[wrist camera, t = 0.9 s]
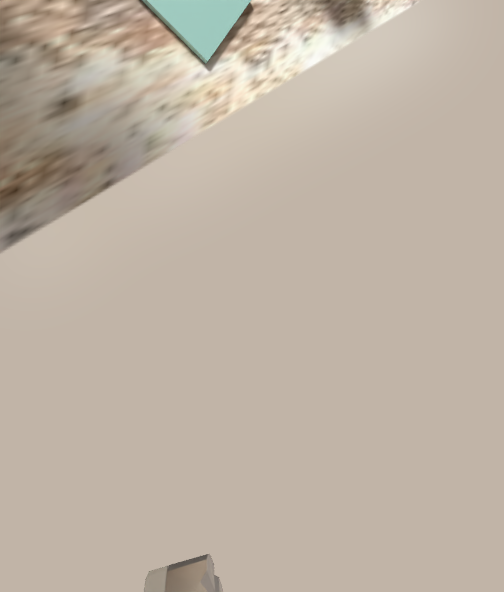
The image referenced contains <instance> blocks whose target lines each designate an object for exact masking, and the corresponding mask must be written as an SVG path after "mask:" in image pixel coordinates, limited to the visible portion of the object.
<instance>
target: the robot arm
mask: <svg viewBox="0 0 504 592" xmlns="http://www.w3.org/2000/svg"><path fill="white" fill-rule="evenodd" d="M144 592H223V589H222V585H221V582H220V579H219V577H217V576H215V575H214V563H213V561H212V558H211V556H210V555H209V554H207V555H203V556H200V557H196V558H193V559H189V560H186V561H183V562H179V563H176V564H172V565H169V566H166V567H162V568H159V569H156V570H152V571H149V573H148V575H147V578H146V581H145V588H144Z"/></svg>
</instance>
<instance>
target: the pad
mask: <svg viewBox="0 0 504 592" xmlns="http://www.w3.org/2000/svg"><path fill="white" fill-rule="evenodd" d="M142 1H143V2H144V3H145V4H146V5H147V6H148V7H149V8H150V9H151V10H152V11H153V12H154V13H155V14H156V15H157V16H158V17H159V18H160V19H161V20H162V21H163V22H164V23H165V24H166V25H167V26H168V27H169V28H170V29H171V30H172V31H173V32H174V33H175V34H176V35H177V36H178V37H179V38H180V39H181V40H182V41H183V42H184V43H185V44H186V45H187V46H188V47H189V48H190V49H191V50H192V51H193V52H194V53H195V54H196V55H197V56H198V57H199V58H200V59H201V60H202V61H203V62H204V63H205V64H206V63H207V62H208V60H209V59H210V57H211V56H212V55H213V53H214V52H215V50H216V49H217V48H218V46H219V45H220V43H221V42H222V40H223V39H224V38H225V36H226V35H227V33H228V32H229V31H230V29H231V28H232V26H233V25H234V24H235V22H236V21H237V19H238V18H239V17H240V15H241V14H242V12H243V11H244V10H245V8H246V7H247V5H248V4H249V2H250V1H251V0H142Z"/></svg>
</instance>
